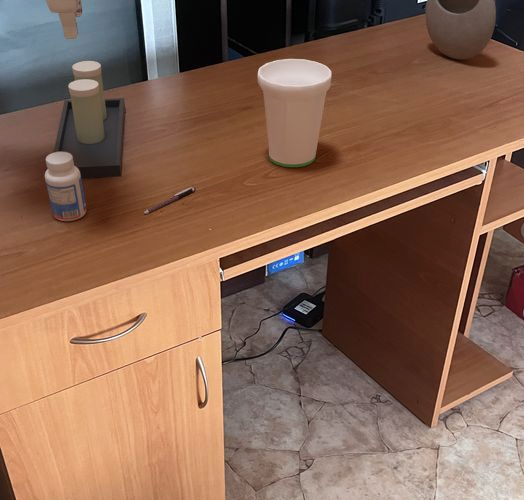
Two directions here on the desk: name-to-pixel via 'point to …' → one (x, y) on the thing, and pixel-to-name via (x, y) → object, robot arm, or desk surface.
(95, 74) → the bottle back
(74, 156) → the tray
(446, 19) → the planter
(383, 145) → the desk surface
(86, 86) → the bottle mid
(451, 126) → the desk surface
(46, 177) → the pill bottle
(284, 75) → the cup
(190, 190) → the pen
